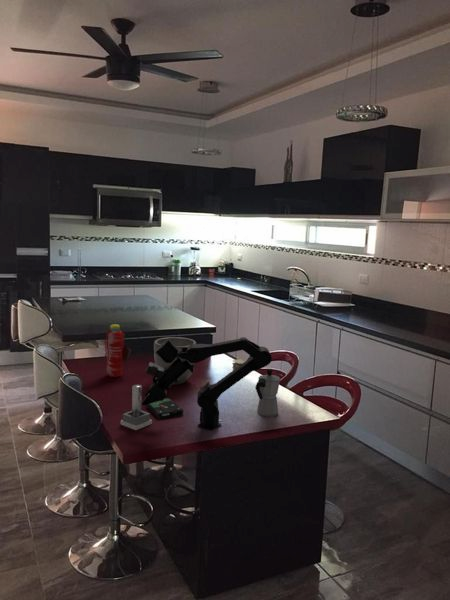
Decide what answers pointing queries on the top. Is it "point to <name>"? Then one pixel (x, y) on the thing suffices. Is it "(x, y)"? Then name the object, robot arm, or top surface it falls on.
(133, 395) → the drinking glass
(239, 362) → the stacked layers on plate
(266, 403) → the coffee maker
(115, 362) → the water bottle
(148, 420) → the square open box
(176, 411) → the disk drive
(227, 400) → the top surface
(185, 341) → the planter
